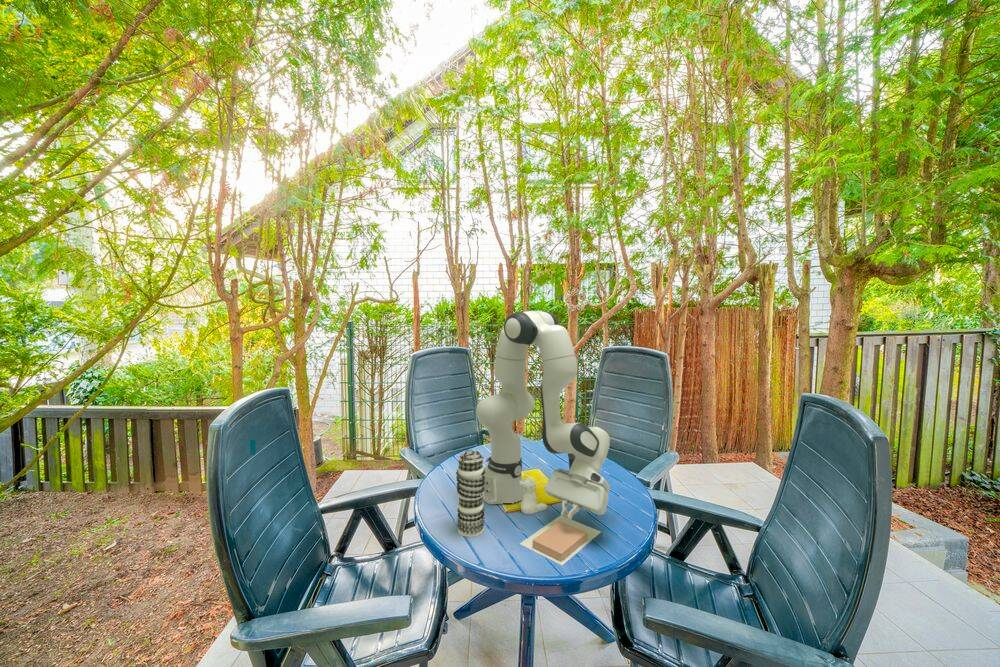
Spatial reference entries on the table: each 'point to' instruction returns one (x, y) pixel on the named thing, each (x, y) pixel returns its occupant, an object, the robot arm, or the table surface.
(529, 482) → the seated beast figurine
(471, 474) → the stacked ring tower
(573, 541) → the tile
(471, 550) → the table surface
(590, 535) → the mat
